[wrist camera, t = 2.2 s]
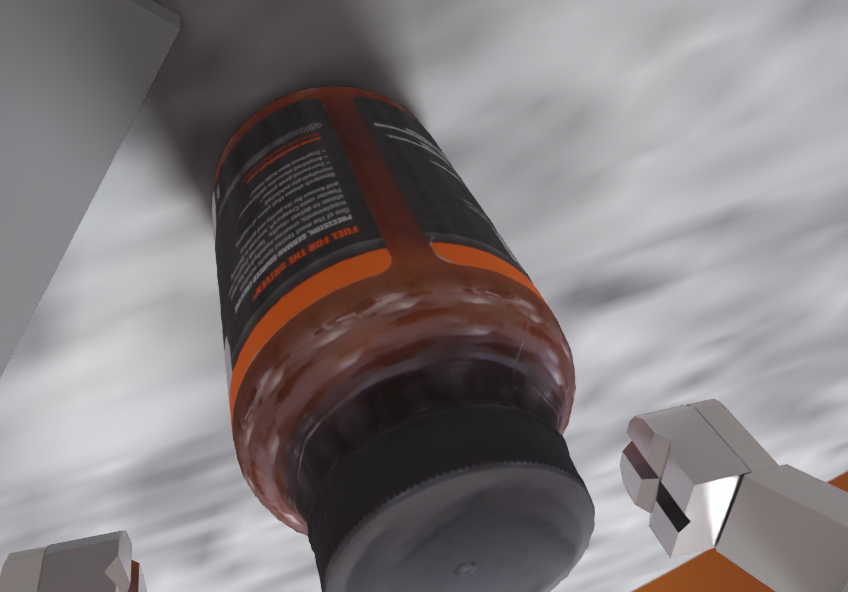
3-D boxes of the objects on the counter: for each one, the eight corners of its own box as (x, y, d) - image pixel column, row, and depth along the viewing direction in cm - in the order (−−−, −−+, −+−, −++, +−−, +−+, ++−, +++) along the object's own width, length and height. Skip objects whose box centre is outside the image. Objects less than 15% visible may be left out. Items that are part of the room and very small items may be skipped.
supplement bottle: (176, 249, 18) (171, 690, 10) (263, 34, 16) (365, 363, 7) (378, 307, 21) (518, 688, 12) (479, 132, 19) (743, 453, 10)
